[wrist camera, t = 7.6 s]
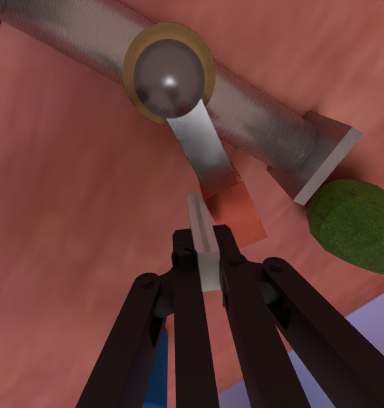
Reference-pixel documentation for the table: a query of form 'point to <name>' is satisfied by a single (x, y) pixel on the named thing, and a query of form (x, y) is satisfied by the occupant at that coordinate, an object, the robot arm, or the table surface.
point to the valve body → (213, 92)
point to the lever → (196, 133)
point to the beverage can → (158, 378)
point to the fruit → (350, 222)
